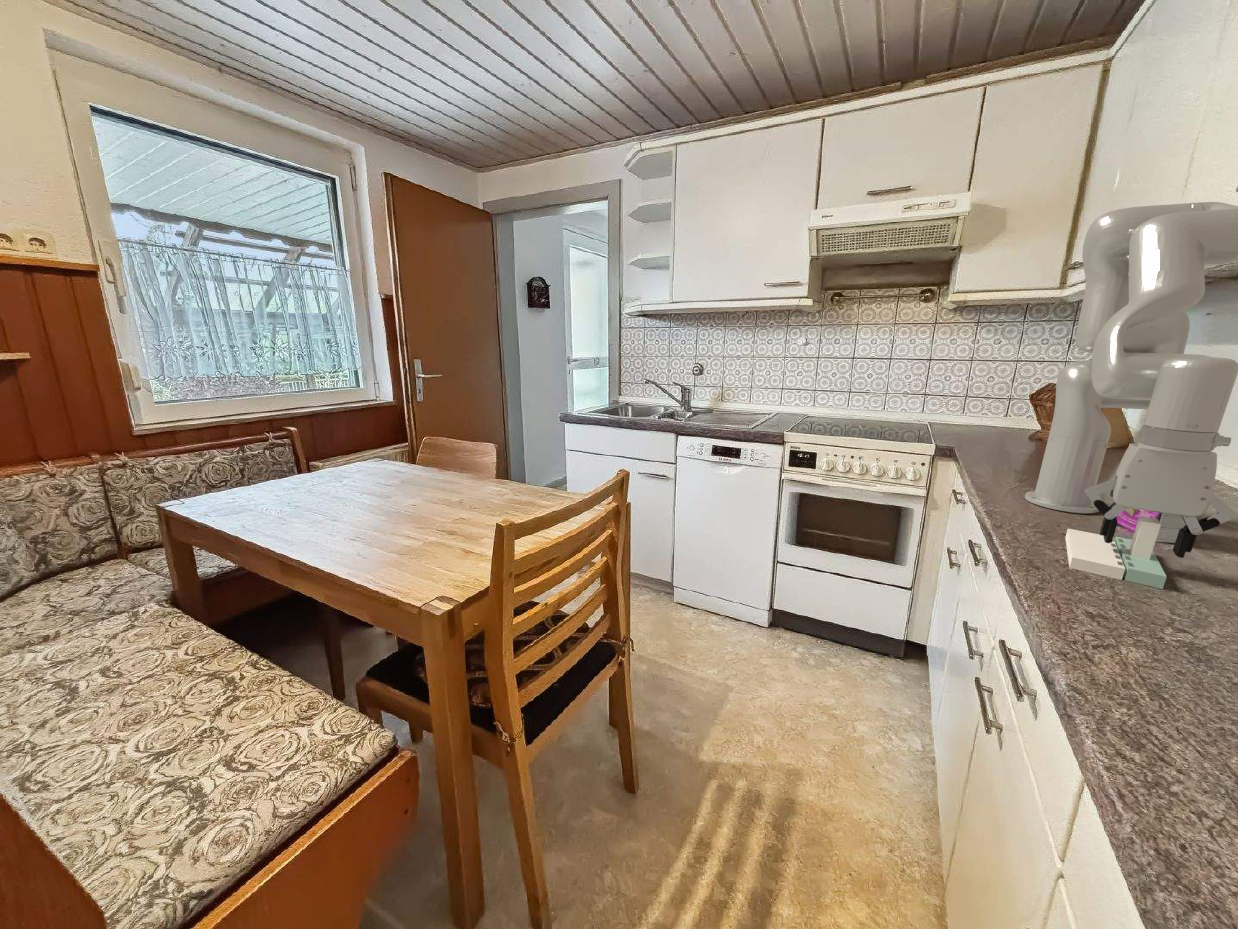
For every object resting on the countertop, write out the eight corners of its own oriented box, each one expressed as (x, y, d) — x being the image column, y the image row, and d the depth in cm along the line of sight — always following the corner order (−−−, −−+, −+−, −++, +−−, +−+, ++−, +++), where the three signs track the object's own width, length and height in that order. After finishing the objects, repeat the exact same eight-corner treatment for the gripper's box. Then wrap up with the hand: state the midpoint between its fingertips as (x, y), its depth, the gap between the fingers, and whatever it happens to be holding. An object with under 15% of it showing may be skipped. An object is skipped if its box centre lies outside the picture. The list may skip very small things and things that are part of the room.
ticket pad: (1065, 538, 90) (1067, 528, 90) (1110, 547, 86) (1113, 536, 86) (1069, 568, 78) (1072, 556, 78) (1121, 580, 75) (1125, 568, 74)
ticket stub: (1112, 547, 86) (1125, 504, 84) (1144, 553, 84) (1158, 510, 82) (1124, 580, 74) (1139, 531, 72) (1162, 589, 72) (1179, 539, 70)
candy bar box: (1104, 521, 99) (1127, 442, 95) (1133, 523, 98) (1158, 444, 94) (1150, 543, 89) (1178, 456, 84) (1183, 545, 88) (1213, 457, 83)
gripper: (1257, 444, 71) (1217, 555, 76) (1094, 429, 82) (1068, 527, 86) (1276, 453, 65) (1231, 572, 70) (1098, 435, 76) (1070, 539, 81)
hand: (1141, 546), depth 78 cm, fingers open, 7 cm apart
